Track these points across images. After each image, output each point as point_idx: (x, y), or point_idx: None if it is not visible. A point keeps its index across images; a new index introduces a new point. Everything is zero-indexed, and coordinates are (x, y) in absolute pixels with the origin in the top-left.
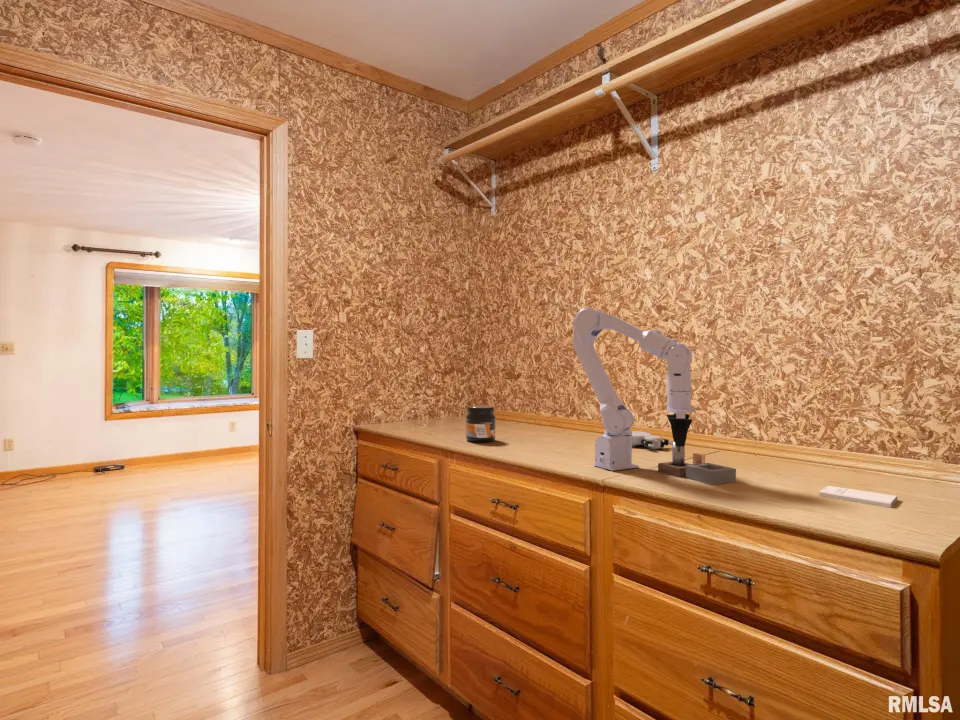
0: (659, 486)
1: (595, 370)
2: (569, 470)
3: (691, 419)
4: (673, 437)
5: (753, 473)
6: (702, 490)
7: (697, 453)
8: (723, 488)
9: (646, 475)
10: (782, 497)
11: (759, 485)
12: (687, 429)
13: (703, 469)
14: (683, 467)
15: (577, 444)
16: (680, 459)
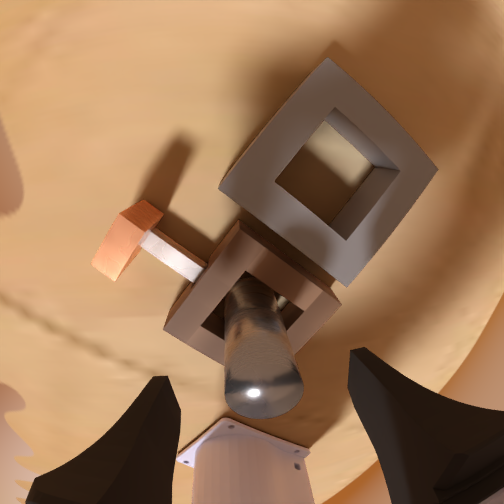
0: (457, 318)
1: None
2: (327, 489)
3: (485, 448)
4: (179, 430)
5: (108, 17)
6: (477, 205)
7: (104, 258)
8: (441, 137)
9: (333, 380)
10: (457, 3)
11: (342, 6)
12: (448, 402)
13: (405, 208)
14: (315, 293)
15: None
16: (283, 324)
